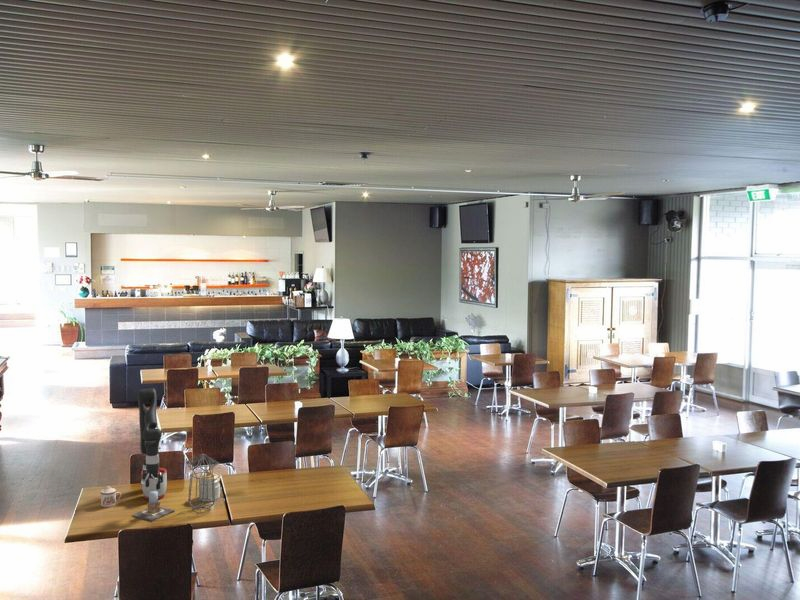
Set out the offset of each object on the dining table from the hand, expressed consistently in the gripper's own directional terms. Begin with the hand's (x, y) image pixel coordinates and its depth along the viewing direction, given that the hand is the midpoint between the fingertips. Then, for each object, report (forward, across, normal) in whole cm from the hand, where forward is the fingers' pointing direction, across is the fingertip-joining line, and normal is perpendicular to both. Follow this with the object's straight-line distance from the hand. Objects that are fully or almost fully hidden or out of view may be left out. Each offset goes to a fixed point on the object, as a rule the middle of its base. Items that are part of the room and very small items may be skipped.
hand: (152, 488), depth 439 cm
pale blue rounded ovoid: (+8, -1, +1) cm, 9 cm away
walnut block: (+14, -1, +1) cm, 14 cm away
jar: (+16, -12, -36) cm, 41 cm away
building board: (+15, -1, +1) cm, 16 cm away
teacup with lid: (+16, +33, +3) cm, 37 cm away
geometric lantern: (+16, -21, -19) cm, 33 cm away
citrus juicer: (+16, +20, -19) cm, 32 cm away
